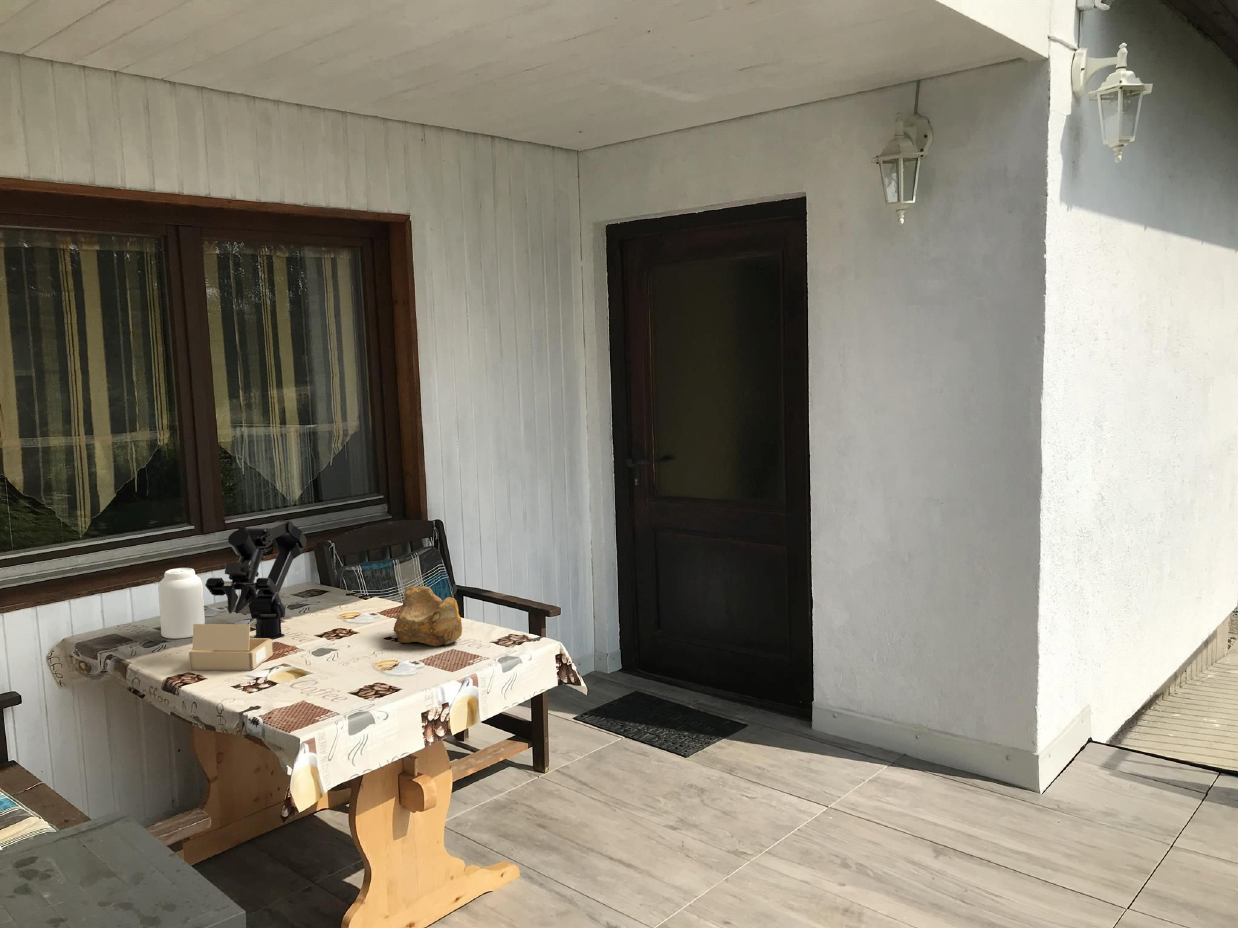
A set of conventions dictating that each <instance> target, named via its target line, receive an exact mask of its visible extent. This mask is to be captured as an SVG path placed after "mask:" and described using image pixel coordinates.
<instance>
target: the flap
mask: <svg viewBox="0 0 1238 928" xmlns="http://www.w3.org/2000/svg"><path fill="white" fill-rule="evenodd" d="M250 632H251V624H250V623H246V624H245V623H243V624H242V623H237V624H236V623H231V624H230V623H205V624H193V637H192V645H191V647H192V648H191V650H247V651H249V640H250V638H251V637H250V636H251V635H250V634H251V633H250Z"/></svg>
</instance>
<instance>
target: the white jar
mask: <svg viewBox="0 0 1238 928" xmlns="http://www.w3.org/2000/svg"><path fill="white" fill-rule="evenodd" d="M163 576H164V577H163V578H162V579H161V580H160V581H159V582H158V588H157V589H158V604H159V619H160V634H161V636H162V637H164V638H166V639H170V640H171V639H178V640H179V639H187V638H193V624H206V620H205V617H206V616H205V605H204V604H205V603H204V591H203V590H204V588H203V587H204V585H203V582H202V579H201V577H199V576H198V575H197V574H196V571H195V569H194V568H190V567H178V568H172V569H171V568H170V569H168V570H166V571H165V572H164V574H163Z"/></svg>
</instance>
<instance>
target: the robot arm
mask: <svg viewBox="0 0 1238 928" xmlns="http://www.w3.org/2000/svg"><path fill="white" fill-rule="evenodd" d="M273 541H274V543H275V544H276V545H275V546H276V548H277V551H278V552H277V555H276V557H275V560H274V562H273V565H272V566H271V569H270V571H269V573H268V576H267V577H259V567H260V563H261V561H264V560H265V556H264V555H263V554H264V553H263V551H262V550H261V549H260V548H269V546H271V545H272V543H273ZM227 542H228V544H229V545H230V547H231V548H232V550H233V551H234V552H235V554H236V555H237V556H238V557H239V559H238V562H237V561H236V562H232V561H231V562H225V568H224V575H228V579H229V580H224V579H223V578H222V577H209V578H207V580H206V582H205V583H204V587H206V588H207V590H208V591H209V594H211V595H213V596H218V597H219V596H222V597H223V596H226V599H227V608H228V609H227V610H228V613H229V614H232V613H233V612H234V613H236V614H237V615H238V614H239V613H240V612H241V611H242V610H243V609H244V608H245V607H246V606H247V605H248V609H249V613H250V617H251V619H252V620H253V619H256V622H255V625H254V626H255V635H254V638H267V639H272V640H274V639H278V638H281V637H285V634H284V633H283V632H282V622H281V621H282V618H285V615H286V607H285V605H284V604H283V603H282V600H281V599H282V598H281V596H280V592H281V590H282V589H281V588H282V587H283V585H284V582H285V580H286V577H287V575H288V573H289V571H290V568H291V565H292V564H293V561H294V559H296V558H298V557H299V556H301V555H302V553H303V552H304V551H305V550H304V549H305V548H306V546H307V537H306V536H305V534H304V532H303V530H301V529H300V528H298V527H297V526H296V525H294V523H293V521H290V520H276V521H274V522H273V523H270V524H267V525H265V526H263V527H246V526H239V527H238V529H237V530H235V531H233V532H231V533H230V534H229V536H228V537H227ZM257 577H258V578H257ZM255 580H256V581H255ZM237 591H240V595H238V594H237ZM235 606H236V607H235ZM234 609H235V610H234Z"/></svg>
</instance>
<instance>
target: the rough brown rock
mask: <svg viewBox="0 0 1238 928" xmlns="http://www.w3.org/2000/svg"><path fill="white" fill-rule="evenodd" d="M403 597H404V598H403V603H402V605H401V608H400V612H399V613H398V615H397V617H396V621H395V623H394V625H393V632H394V633H395V636H396V637H397V639H398V642H400V643H402V644H410V643H413V642H415V643H416V642H417V643H422V644H425V645H427V646H432V647H435V648H439V647H441V646H442V645H445V646H447V645H448V644H452V643H454V642H456V641H457V640H458V639H459V638H461V636H462V634H463V625H462V617H461V615H460V614H459V605H458V603H457V600H456V599H455V598H454V597H452V596H449V597H446V598H445V599H443V600H442V599H441V598H440V597H439V596H437V595H436V594H435V593H434V592H433V590H432V588H431V587H429V586H424V585H422V586H420V585H419V586H418V587H415V586H407V587H406V588H405V590H404V594H403Z"/></svg>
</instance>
